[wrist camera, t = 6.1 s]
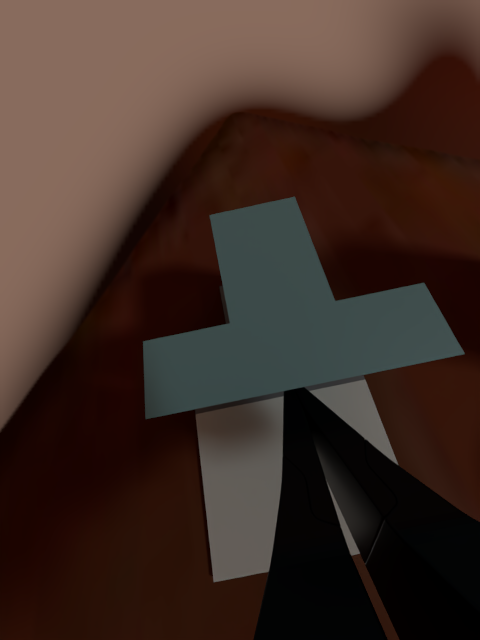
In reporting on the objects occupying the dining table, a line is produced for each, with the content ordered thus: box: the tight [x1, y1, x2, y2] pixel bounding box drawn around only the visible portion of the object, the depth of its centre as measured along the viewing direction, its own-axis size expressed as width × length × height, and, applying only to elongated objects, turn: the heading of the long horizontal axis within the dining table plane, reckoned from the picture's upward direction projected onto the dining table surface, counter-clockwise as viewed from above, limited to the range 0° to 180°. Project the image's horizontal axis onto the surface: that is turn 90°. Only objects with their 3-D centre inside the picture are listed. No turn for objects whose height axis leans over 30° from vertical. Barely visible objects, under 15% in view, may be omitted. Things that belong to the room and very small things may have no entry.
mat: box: [195, 286, 398, 582], centre depth 15 cm, size 21×14×1 cm, turn 11°
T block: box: [143, 197, 465, 419], centre depth 13 cm, size 9×12×9 cm
